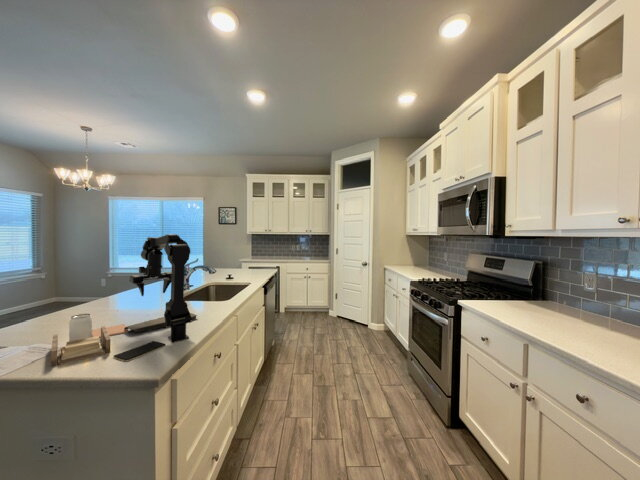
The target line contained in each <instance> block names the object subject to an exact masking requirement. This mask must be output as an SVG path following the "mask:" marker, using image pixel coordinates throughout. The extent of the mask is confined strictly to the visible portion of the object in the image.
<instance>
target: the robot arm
mask: <svg viewBox="0 0 640 480" xmlns="http://www.w3.org/2000/svg"><path fill="white" fill-rule="evenodd" d="M163 249H164V252H165V253H166V255H167V260H168V261H169V264H170V265H171V271H166V272H163V274H162V269H163V265H162V260H163V255H164V253H163V251H162V250H163ZM190 254H191V248H190V245H189V244H188V242H187V241H186V240H183V238H181V237H180V235H179V234H175V233H174V234H171V233H170V234H164V235H162V236H159V237H157V236H156V237H154V236H153V237H150V236H148V237H147V238H146V240H145V241H144V243H143V245H142V251H141V253H140V257H141V258H142V259H143V260H144V261H147V264H146V267H145V266H138V274H132V275H130V276H129V280H128V281H129V282H130V283H132V284H134V285H136V286H137V288H138V290H139V293H140V295H141V297H144V294H145V283H144V281H149V280H157V279H159V280H160V279H162V281H163V285H162V293H163V294H165V293H166V291H167V289H168V288H169V286H170V299H169V301H167V302H166V303H165V309H164V310H165V311H164V314H163V317H165V324H166V327H165V328H170V336H167V339H168V340H170V342H172V343H175V342H178V341H183V340H188V339H189V338H190V336H188V334H187V324H190V323H192V321H193V320H192V317H191V315H190V313H191V312H190V309H189V308H188V303H187V302H186V300H185V299H184V293H185V292H184V291H185V289H184V288H185V266H186V264H187V263H188V261H189V259H190ZM141 274H143V275H141ZM181 318H185V319H181ZM177 319H181V320H177ZM172 320H176V321H172Z"/></svg>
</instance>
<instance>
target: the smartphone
mask: <svg viewBox="0 0 640 480" xmlns="http://www.w3.org/2000/svg"><path fill="white" fill-rule="evenodd" d="M163 347H166V343H164V342H160V341H156V340H152V341H150V342H148V343H145V344H142V345H139V346H136V347H134V348H131V349H128V350H126V351H123V352H120V353H117V354H114V355H113V359H116V360H119V361H122V362H129V361H132V360H134V359H137V358H139V357H142V356H144V355H147V354H150V353H152V352H153V351H156V350H159V349H162V348H163Z"/></svg>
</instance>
